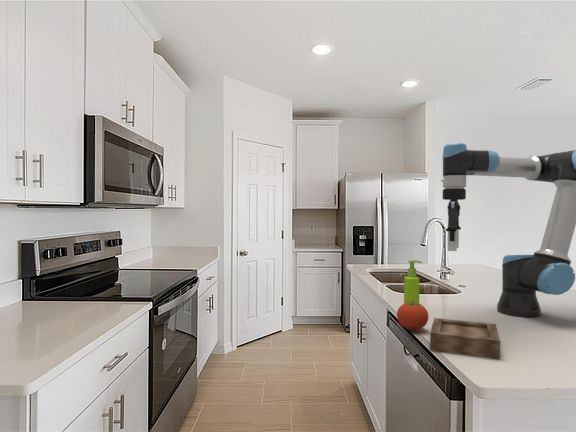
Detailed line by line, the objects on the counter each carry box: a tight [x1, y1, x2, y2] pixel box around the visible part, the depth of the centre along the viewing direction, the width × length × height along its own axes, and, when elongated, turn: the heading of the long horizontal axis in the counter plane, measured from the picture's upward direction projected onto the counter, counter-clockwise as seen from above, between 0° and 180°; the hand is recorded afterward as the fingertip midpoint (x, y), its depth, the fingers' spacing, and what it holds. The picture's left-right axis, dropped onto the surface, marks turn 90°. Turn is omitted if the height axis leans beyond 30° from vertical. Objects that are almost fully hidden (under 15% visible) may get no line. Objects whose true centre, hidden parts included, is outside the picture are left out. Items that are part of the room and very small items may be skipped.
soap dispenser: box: [403, 259, 423, 304], centre depth 166 cm, size 6×7×20 cm
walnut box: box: [429, 317, 501, 360], centre depth 123 cm, size 18×18×5 cm
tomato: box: [396, 300, 429, 331], centre depth 138 cm, size 10×10×10 cm
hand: (453, 249), depth 143 cm, fingers open, 13 cm apart
